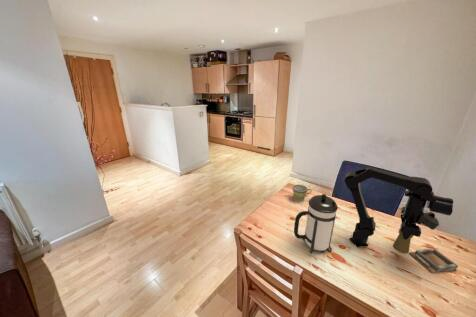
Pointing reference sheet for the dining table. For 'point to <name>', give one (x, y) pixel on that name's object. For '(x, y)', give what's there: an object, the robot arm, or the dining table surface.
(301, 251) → the dining table surface
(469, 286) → the dining table surface
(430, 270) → the frame
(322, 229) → the coffee press
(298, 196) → the ceramic cup
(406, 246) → the olive tall rounded piece
